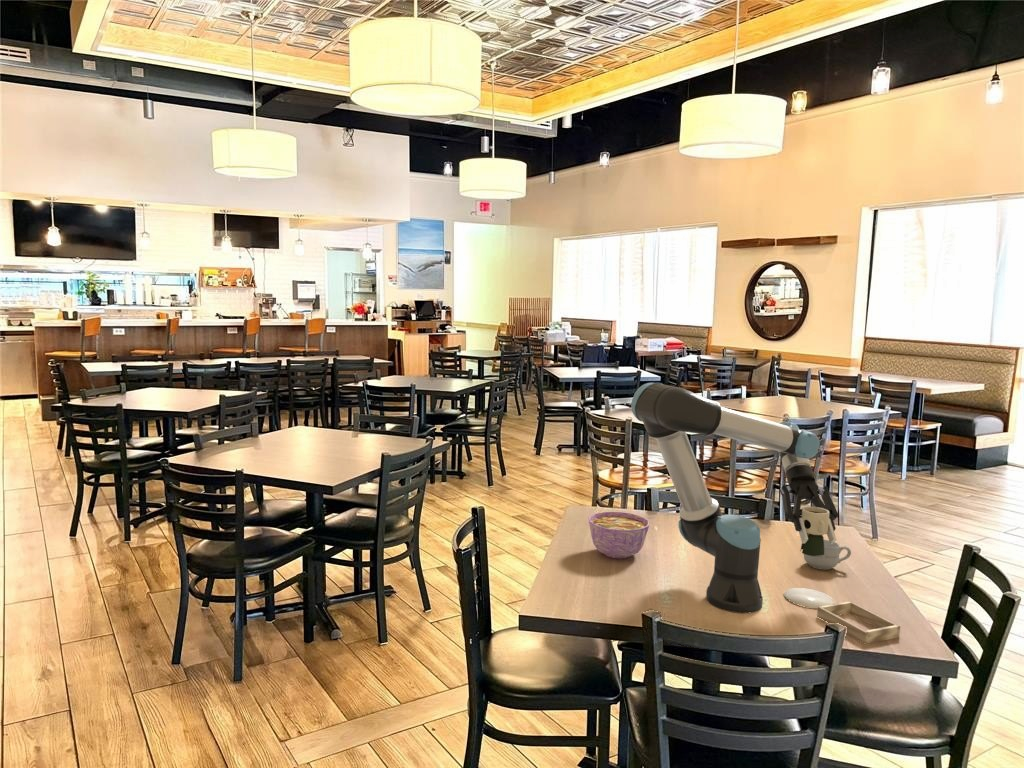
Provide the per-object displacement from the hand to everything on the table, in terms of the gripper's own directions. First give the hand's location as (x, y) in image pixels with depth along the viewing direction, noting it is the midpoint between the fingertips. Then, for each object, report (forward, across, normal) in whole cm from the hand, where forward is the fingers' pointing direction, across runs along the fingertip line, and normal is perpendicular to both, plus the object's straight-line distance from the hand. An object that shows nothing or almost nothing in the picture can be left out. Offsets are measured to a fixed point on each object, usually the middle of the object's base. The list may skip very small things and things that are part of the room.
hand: (819, 541), depth 196 cm
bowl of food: (-13, +49, -39) cm, 64 cm away
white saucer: (+10, 0, -15) cm, 19 cm away
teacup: (-7, -17, -33) cm, 38 cm away
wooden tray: (+23, -5, -3) cm, 23 cm away
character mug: (+1, 0, -6) cm, 6 cm away
